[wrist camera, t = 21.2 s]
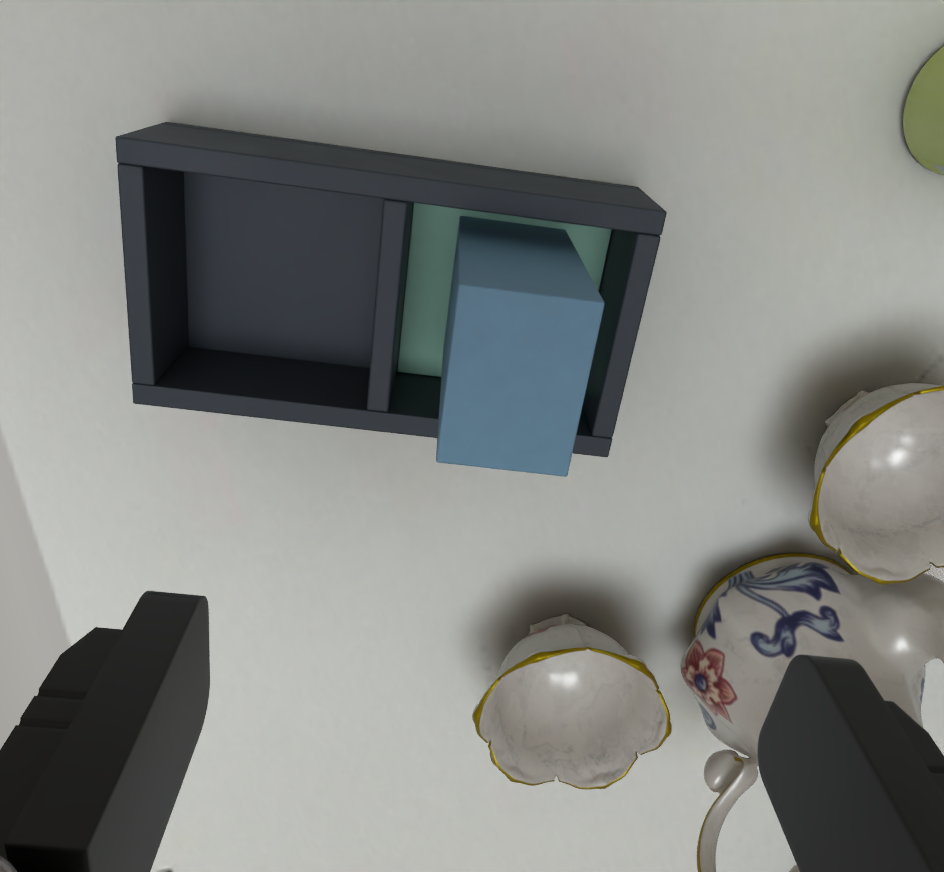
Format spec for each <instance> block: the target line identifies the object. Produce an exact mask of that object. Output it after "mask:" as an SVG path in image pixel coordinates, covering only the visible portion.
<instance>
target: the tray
mask: <svg viewBox="0 0 944 872" xmlns="http://www.w3.org/2000/svg"><path fill="white" fill-rule="evenodd" d="M116 152H117V162H118V163H119V164H118V180H119V194H120V209H121V224H122V238H123V253H124V268H125V283H126V297H127V312H128V327H129V341H130V356H131V371H132V382H133V384H132V389H133V403H135V404H143V405H152V406H161V407H170V408H178V409H187V410H196V411H205V412H214V413H222V414H231V415H240V416H249V417H258V418H266V419H275V420H284V421H293V422H302V423H310V424H319V425H328V426H337V427H346V428H354V429H363V430H372V431H381V432H390V433H398V434H407V435H416V436H425V437H434V438H437V437H438V421H439V405H440V390H441V374H442V358H443V347H444V339H445V331H446V323H447V315H448V307H449V299H450V291H451V283H452V275H453V267H454V258H455V250H456V242H457V234H458V226H459V218H460V216H467V217H474V218H482V219H489V220H497V221H504V222H512V223H520V224H527V225H535V226H542V227H550V228H557V229H565V230H566V231H567V233H568V235H569V237H570V239H571V241H572V243H573V244H574V246H575V248H576V250H577V252H578V254H579V256H580V258H581V260H582V261H583V263H584V265H585V267H586V269H587V271H588V273H589V275H590V277H591V278H592V280H593V282H594V284H595V286H596V288H597V290H598V292H599V294H600V295H601V297H602V299H603V301H604V309H603V314H602V318H601V323H600V328H599V332H598V337H597V341H596V346H595V351H594V355H593V360H592V364H591V369H590V374H589V378H588V383H587V388H586V392H585V397H584V401H583V406H582V411H581V415H580V420H579V425H578V429H577V434H576V438H575V443H574V448H573V452H572V453H574V454H583V455H592V456H601V457H608V455H609V451H610V446H611V442H612V436H613V433H614V429H615V425H616V421H617V416H618V412H619V408H620V404H621V400H622V396H623V391H624V387H625V383H626V379H627V375H628V371H629V367H630V362H631V358H632V354H633V350H634V346H635V342H636V337H637V333H638V329H639V325H640V321H641V317H642V313H643V308H644V304H645V300H646V296H647V292H648V288H649V283H650V279H651V275H652V271H653V267H654V263H655V259H656V254H657V250H658V246H659V242H660V236H659V235H661V234H662V230H663V226H664V222H665V218H666V214H667V213H666V211H665V210H664V209H663V208H661V207H660V206H659V205H658V204H657V203H656V202H655V201H653V200H652V199H651V198H650V197H649V196H648V195H646V194H645V193H644V192H643V191H642V190H641V189H639V188H638V187H634V186H626V185H619V184H612V183H605V182H597V181H590V180H583V179H576V178H568V177H561V176H554V175H547V174H540V173H532V172H525V171H518V170H511V169H503V168H496V167H489V166H482V165H474V164H467V163H460V162H453V161H446V160H438V159H431V158H424V157H417V156H409V155H402V154H395V153H388V152H380V151H373V150H366V149H359V148H352V147H344V146H337V145H330V144H323V143H315V142H308V141H301V140H294V139H287V138H279V137H272V136H265V135H258V134H250V133H243V132H236V131H229V130H221V129H214V128H207V127H200V126H193V125H185V124H178V123H171V122H165V123H161V124H158V125H154V126H151V127H147V128H144V129H141V130H137V131H134V132H130V133H127V134H123V135H120V136H117V137H116Z"/></svg>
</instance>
